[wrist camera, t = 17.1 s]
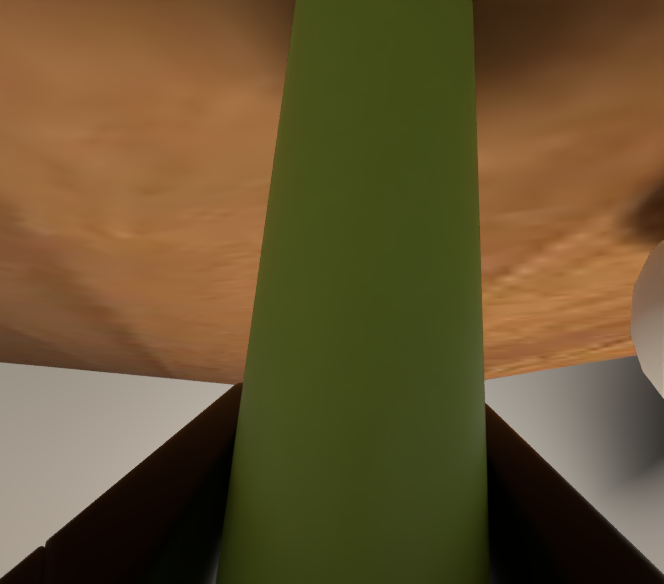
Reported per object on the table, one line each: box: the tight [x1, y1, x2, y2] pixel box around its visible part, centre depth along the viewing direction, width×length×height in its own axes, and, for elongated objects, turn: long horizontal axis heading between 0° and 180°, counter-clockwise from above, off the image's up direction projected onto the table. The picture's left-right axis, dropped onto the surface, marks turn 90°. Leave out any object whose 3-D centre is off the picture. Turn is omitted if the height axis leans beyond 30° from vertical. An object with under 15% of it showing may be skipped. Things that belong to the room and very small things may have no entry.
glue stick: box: [216, 0, 490, 584], centre depth 6 cm, size 3×3×13 cm
